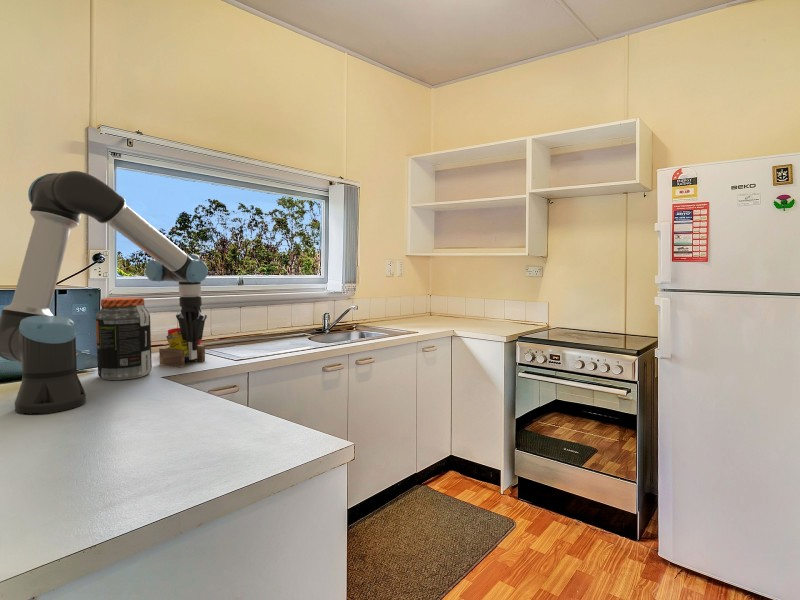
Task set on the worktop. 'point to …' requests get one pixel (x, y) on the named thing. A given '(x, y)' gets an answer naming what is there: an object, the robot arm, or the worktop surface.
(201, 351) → the brown rectangular block
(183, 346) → the supplement box
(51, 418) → the worktop surface
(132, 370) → the supplement tub
